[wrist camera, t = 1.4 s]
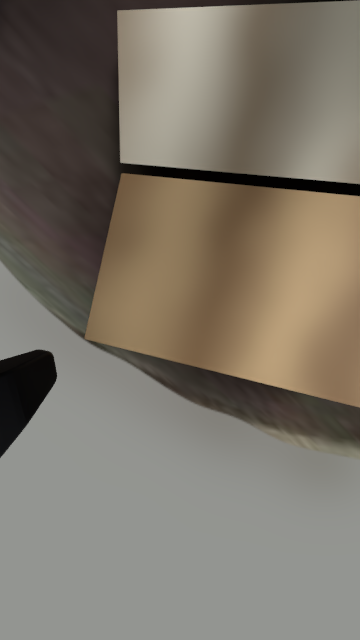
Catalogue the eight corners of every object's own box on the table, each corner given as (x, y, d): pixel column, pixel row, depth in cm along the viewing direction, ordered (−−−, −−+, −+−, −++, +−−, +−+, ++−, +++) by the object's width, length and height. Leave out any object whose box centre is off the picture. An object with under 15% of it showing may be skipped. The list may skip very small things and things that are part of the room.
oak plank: (401, 219, 16) (420, 202, 14) (363, 403, 16) (377, 411, 14) (135, 190, 19) (121, 173, 18) (102, 339, 19) (84, 338, 17)
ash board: (474, 16, 12) (501, -6, 11) (412, 186, 15) (426, 189, 14) (137, 26, 16) (117, 10, 14) (136, 162, 19) (120, 162, 17)
